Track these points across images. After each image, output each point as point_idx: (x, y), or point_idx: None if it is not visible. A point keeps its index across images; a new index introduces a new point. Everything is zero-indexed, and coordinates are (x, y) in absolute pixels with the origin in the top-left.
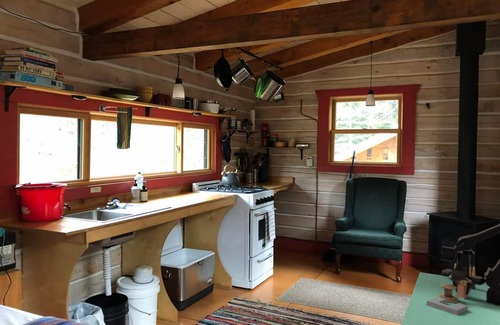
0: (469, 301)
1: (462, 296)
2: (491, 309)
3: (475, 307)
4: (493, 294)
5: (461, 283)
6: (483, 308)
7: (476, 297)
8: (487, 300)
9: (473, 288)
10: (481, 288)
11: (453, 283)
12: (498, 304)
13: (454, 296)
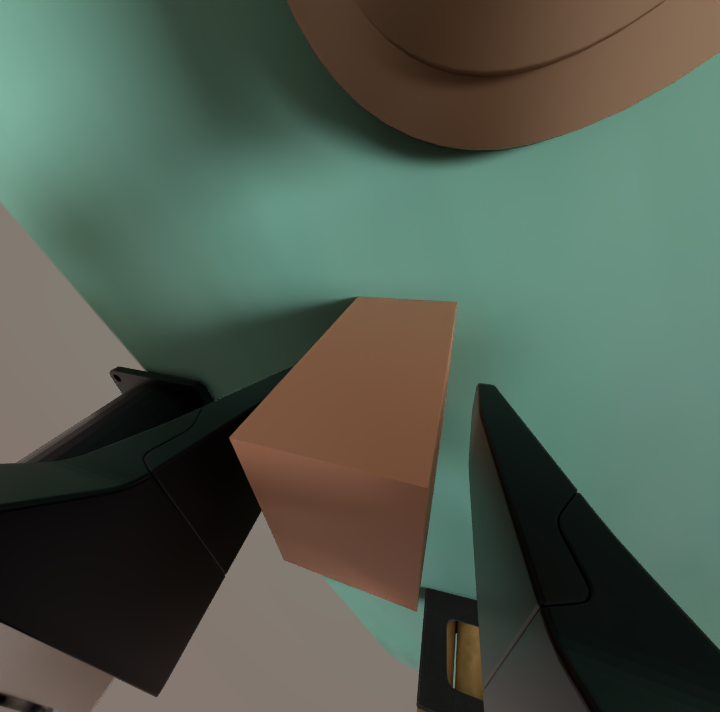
0: (250, 250)
1: (358, 309)
2: (22, 198)
3: (38, 34)
4: (68, 439)
5: None
6: (28, 132)
7: None
8: (195, 400)
9: (434, 599)
10: (407, 611)
11: (638, 574)
12: (117, 370)
13: (404, 23)
